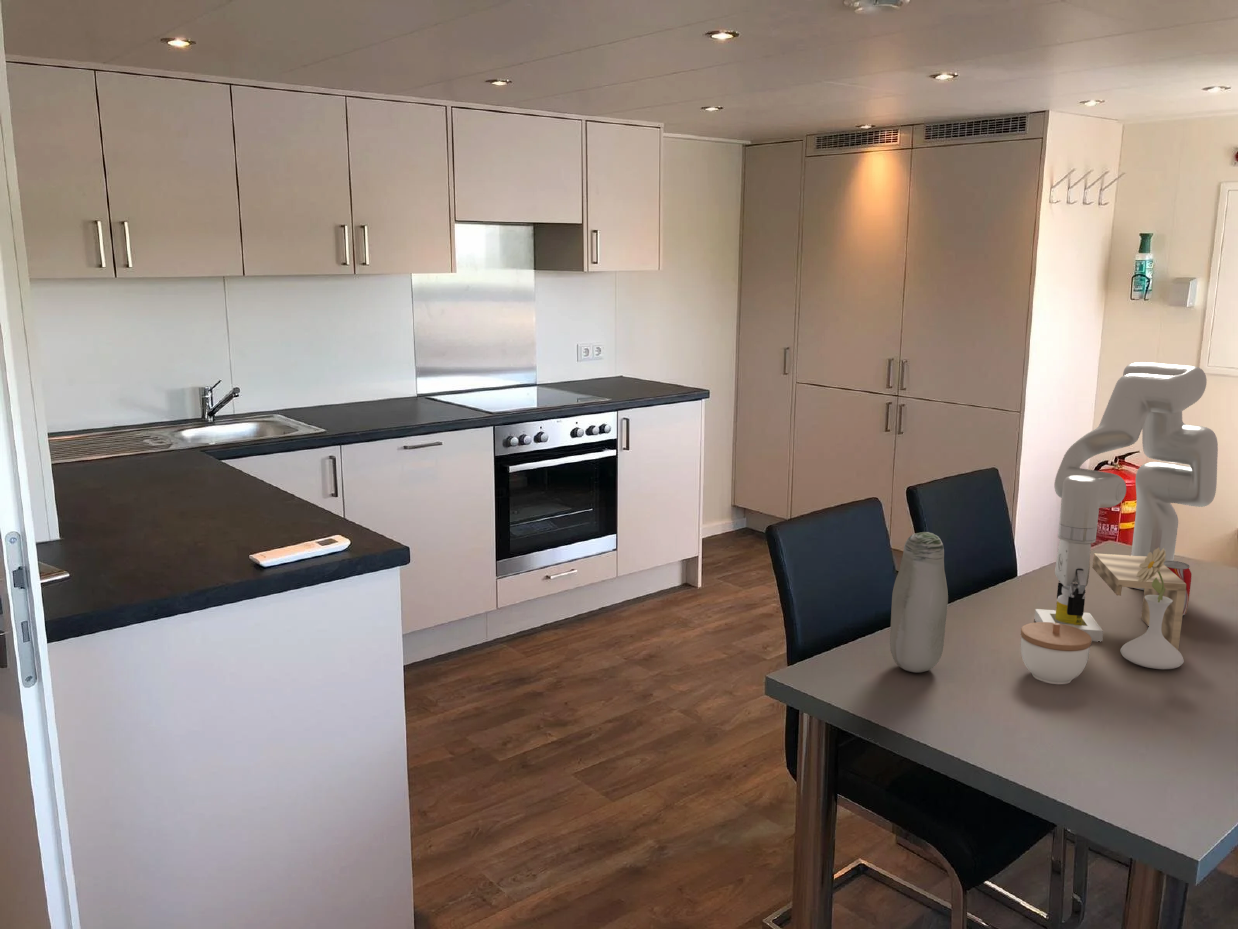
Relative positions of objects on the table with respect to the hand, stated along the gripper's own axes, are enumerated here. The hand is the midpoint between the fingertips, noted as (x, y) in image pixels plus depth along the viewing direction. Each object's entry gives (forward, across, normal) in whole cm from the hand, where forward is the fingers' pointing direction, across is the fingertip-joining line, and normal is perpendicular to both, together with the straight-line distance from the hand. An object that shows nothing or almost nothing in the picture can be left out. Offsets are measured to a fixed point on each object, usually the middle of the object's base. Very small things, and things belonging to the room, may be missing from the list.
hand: (1069, 607), depth 217 cm
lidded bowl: (+6, +28, -9) cm, 30 cm away
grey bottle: (+6, +30, -35) cm, 46 cm away
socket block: (+5, 0, 0) cm, 5 cm away
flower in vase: (+6, +17, +12) cm, 22 cm away
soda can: (+6, -17, +26) cm, 32 cm away
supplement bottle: (+6, 0, 0) cm, 6 cm away
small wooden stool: (+5, -2, +14) cm, 15 cm away
